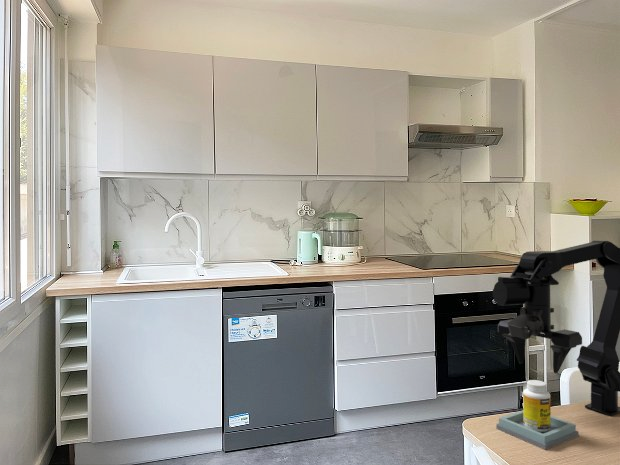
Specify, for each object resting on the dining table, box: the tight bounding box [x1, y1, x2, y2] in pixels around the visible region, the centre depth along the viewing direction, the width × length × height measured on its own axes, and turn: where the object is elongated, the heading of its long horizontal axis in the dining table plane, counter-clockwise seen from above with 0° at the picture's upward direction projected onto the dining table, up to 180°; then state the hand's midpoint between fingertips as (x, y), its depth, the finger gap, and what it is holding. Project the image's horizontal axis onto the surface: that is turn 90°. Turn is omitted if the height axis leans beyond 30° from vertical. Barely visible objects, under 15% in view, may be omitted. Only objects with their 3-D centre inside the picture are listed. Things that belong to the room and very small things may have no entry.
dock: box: [495, 409, 579, 451], centre depth 105 cm, size 12×12×2 cm
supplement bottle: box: [522, 379, 552, 432], centre depth 105 cm, size 6×6×10 cm
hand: (537, 367), depth 114 cm, fingers open, 9 cm apart
